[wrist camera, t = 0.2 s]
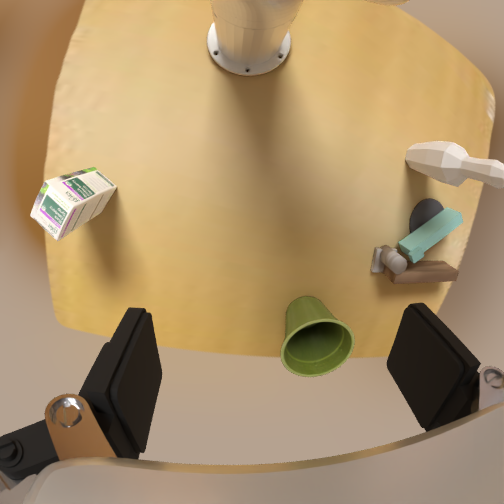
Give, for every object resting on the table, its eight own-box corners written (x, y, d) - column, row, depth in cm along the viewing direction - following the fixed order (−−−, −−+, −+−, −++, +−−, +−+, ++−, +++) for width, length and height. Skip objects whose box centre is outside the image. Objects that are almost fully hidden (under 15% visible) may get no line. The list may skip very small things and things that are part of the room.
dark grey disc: (413, 196, 46) (414, 196, 45) (447, 201, 46) (448, 201, 46) (405, 243, 49) (406, 244, 48) (439, 244, 49) (440, 245, 49)
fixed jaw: (375, 244, 48) (390, 257, 43) (446, 247, 50) (464, 258, 44) (370, 270, 50) (384, 285, 45) (441, 269, 52) (457, 282, 46)
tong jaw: (395, 244, 47) (411, 255, 42) (447, 207, 45) (464, 214, 40) (398, 252, 48) (414, 264, 43) (449, 215, 46) (467, 223, 41)
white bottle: (411, 132, 42) (505, 139, 21) (433, 154, 43) (524, 173, 22) (395, 160, 43) (488, 181, 23) (418, 182, 45) (508, 213, 24)
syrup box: (118, 186, 42) (74, 205, 29) (101, 214, 44) (56, 243, 30) (94, 166, 41) (44, 178, 27) (77, 194, 42) (28, 216, 29)
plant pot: (298, 272, 49) (314, 306, 39) (346, 301, 52) (368, 337, 42) (259, 322, 53) (265, 362, 42) (308, 345, 55) (321, 385, 45)
